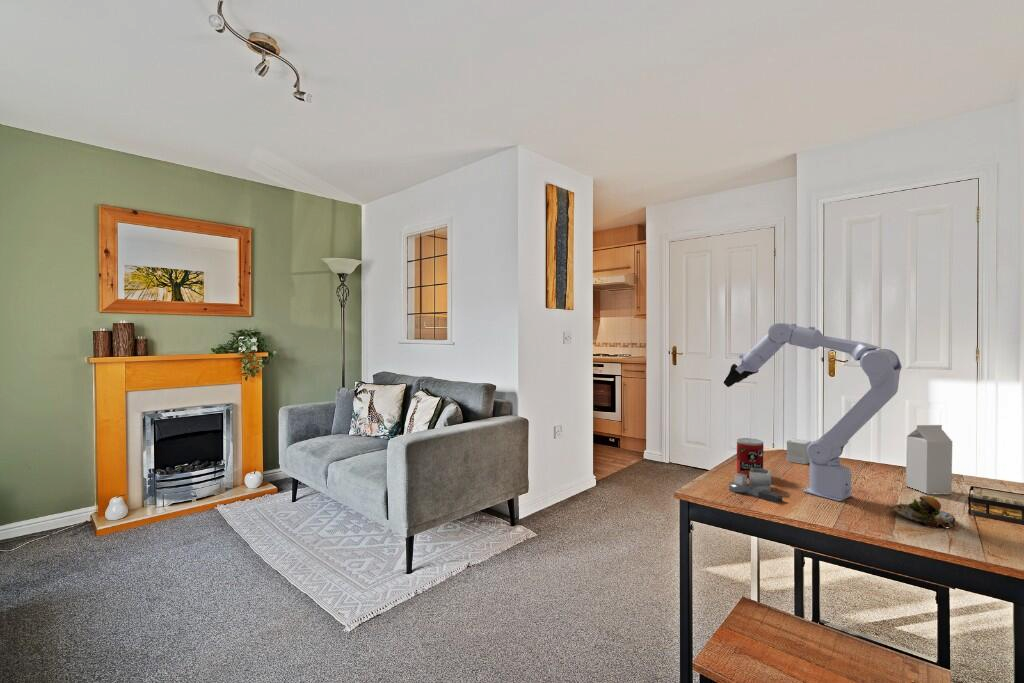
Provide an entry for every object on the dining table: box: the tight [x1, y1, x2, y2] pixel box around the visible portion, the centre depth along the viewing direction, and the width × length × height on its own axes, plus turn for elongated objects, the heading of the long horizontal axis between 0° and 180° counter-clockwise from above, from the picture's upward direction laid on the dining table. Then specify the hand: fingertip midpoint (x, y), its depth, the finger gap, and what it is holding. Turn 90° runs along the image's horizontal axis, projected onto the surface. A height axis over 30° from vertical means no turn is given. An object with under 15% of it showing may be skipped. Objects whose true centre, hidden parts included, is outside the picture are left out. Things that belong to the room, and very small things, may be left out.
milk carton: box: [905, 424, 953, 495], centre depth 137 cm, size 7×7×19 cm
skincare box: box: [786, 438, 812, 465], centre depth 168 cm, size 6×6×7 cm
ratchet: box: [728, 472, 783, 504], centre depth 135 cm, size 14×6×5 cm, turn 34°
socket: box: [748, 467, 772, 491], centre depth 140 cm, size 5×5×5 cm
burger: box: [892, 491, 956, 529], centre depth 117 cm, size 12×12×8 cm
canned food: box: [736, 437, 764, 479], centre depth 153 cm, size 8×8×11 cm
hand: (730, 382), depth 156 cm, fingers open, 7 cm apart
